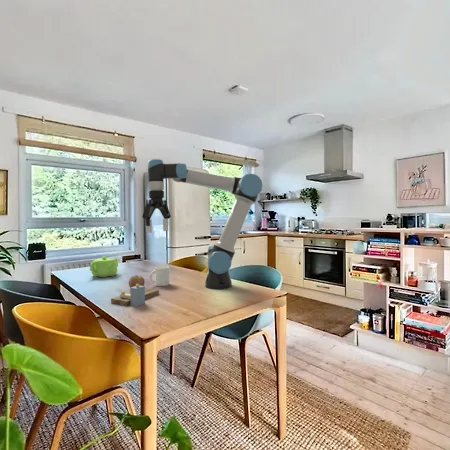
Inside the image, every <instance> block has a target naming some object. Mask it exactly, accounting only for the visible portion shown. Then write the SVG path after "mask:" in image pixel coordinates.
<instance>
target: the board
mask: <svg viewBox="0 0 450 450" xmlns="http://www.w3.org/2000/svg"><path fill="white" fill-rule="evenodd" d="M126 294H130V292H128V293H126ZM159 294H160V290H159V289H154V288H148V287H147V288H146V287H145V300H147V299H149V298H151V297H154V296H157V295H159ZM110 303H111V304H114V305H120V306H124V307H125V306H131V305H130V299H127V298H121V297H120V295H118V296H115V297H112V298H110Z"/></svg>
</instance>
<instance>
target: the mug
mask: <svg viewBox="0 0 450 450" xmlns="http://www.w3.org/2000/svg"><path fill="white" fill-rule="evenodd" d="M153 274H154V280H153ZM148 279H149V281H150V282H151V283H152V284H155V286H157V287H167V286H169V285H170V281H171V280H170V266H168V265H160V266H155V267H154V270H152V271H151V272H150V273H149V276H148Z"/></svg>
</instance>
